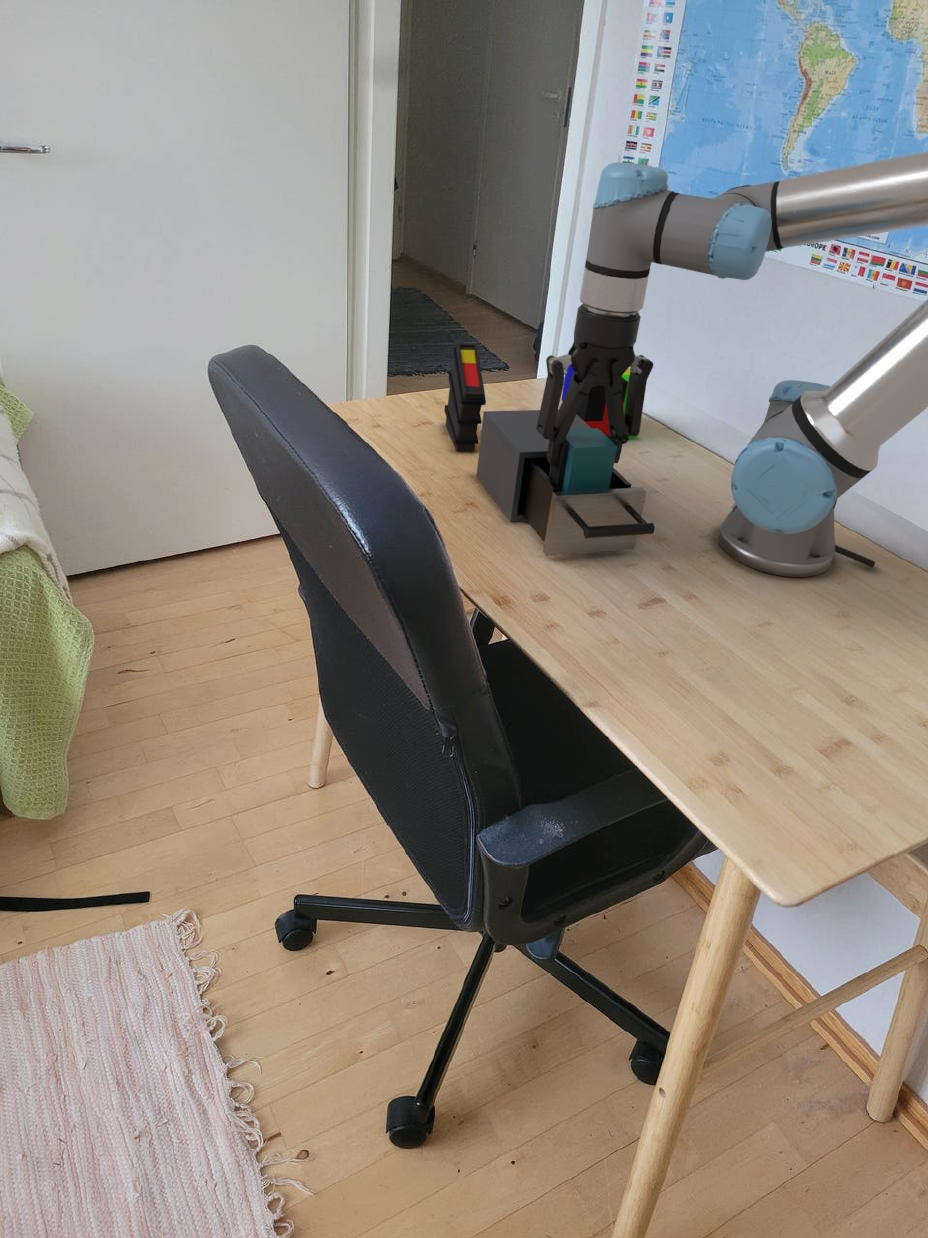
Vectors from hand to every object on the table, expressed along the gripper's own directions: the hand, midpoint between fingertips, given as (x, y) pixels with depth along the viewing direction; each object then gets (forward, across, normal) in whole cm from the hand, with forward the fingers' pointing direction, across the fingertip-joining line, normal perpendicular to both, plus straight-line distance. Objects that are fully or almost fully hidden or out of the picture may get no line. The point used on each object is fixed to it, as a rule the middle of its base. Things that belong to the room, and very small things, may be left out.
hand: (578, 485), depth 125 cm
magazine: (+8, +5, -33) cm, 34 cm away
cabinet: (+7, 0, -12) cm, 14 cm away
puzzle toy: (+8, -21, -37) cm, 43 cm away
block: (0, 0, 0) cm, 0 cm away
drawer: (+6, 0, +3) cm, 7 cm away
